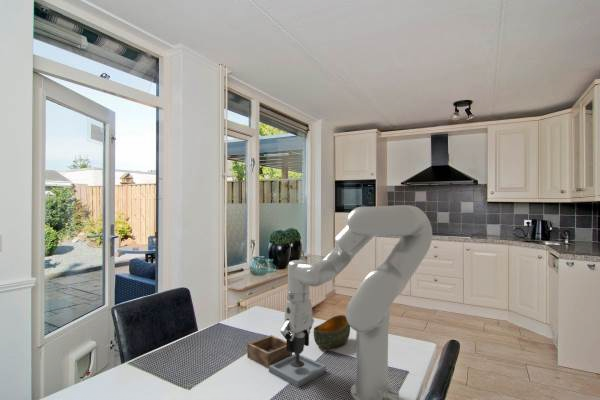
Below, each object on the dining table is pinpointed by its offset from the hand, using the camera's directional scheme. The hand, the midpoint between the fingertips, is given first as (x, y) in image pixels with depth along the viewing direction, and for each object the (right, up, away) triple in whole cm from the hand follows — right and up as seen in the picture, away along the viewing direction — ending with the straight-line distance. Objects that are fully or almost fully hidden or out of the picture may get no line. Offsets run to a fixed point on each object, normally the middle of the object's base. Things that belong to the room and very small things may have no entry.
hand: (297, 347), depth 114 cm
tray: (0, -8, 0) cm, 8 cm away
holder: (-11, -8, +11) cm, 17 cm away
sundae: (0, -6, 0) cm, 6 cm away
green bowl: (+15, -9, +23) cm, 29 cm away
